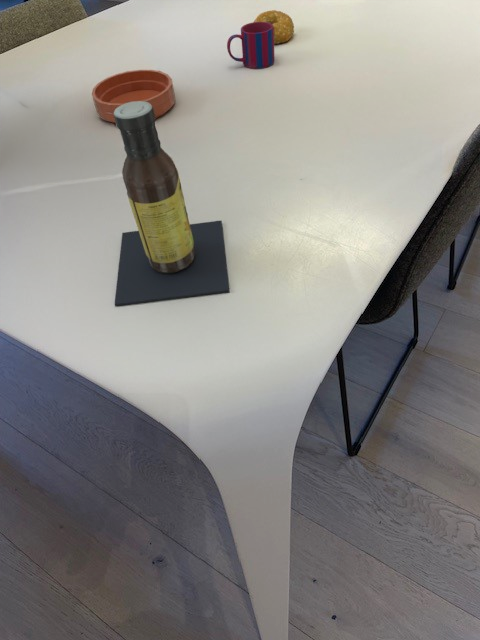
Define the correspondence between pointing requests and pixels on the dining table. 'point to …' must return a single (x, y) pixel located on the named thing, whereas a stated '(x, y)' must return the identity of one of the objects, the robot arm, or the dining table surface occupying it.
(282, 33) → the bagel
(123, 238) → the mat
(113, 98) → the dish
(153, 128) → the sauce bottle
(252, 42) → the mug
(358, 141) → the dining table surface
